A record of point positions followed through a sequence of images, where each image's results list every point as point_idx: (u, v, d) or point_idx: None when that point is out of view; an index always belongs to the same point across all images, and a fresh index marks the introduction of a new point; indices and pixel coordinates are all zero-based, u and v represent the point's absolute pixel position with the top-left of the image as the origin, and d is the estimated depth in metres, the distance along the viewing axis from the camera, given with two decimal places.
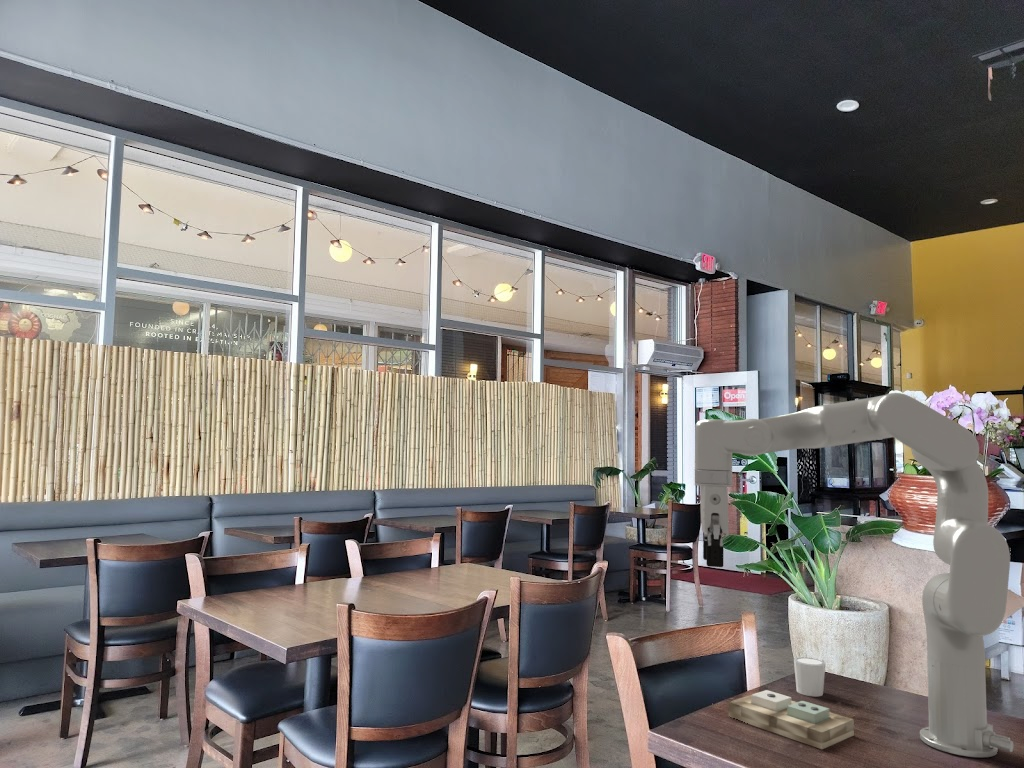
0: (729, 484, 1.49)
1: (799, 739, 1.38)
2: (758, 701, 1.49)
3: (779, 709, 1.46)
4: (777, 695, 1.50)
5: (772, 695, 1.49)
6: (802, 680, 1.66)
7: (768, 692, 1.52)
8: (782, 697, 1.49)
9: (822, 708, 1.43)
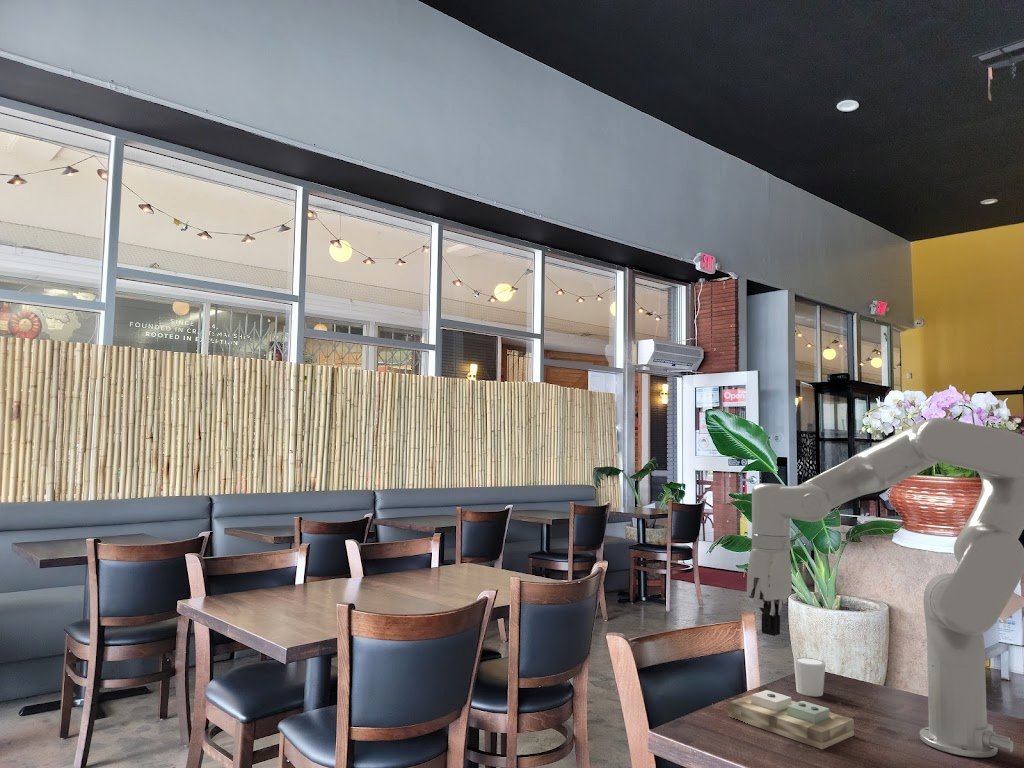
0: None
1: (799, 739, 1.38)
2: (758, 701, 1.49)
3: (779, 709, 1.46)
4: (777, 695, 1.50)
5: (772, 695, 1.49)
6: (802, 680, 1.66)
7: (768, 692, 1.52)
8: (782, 697, 1.49)
9: (822, 708, 1.43)
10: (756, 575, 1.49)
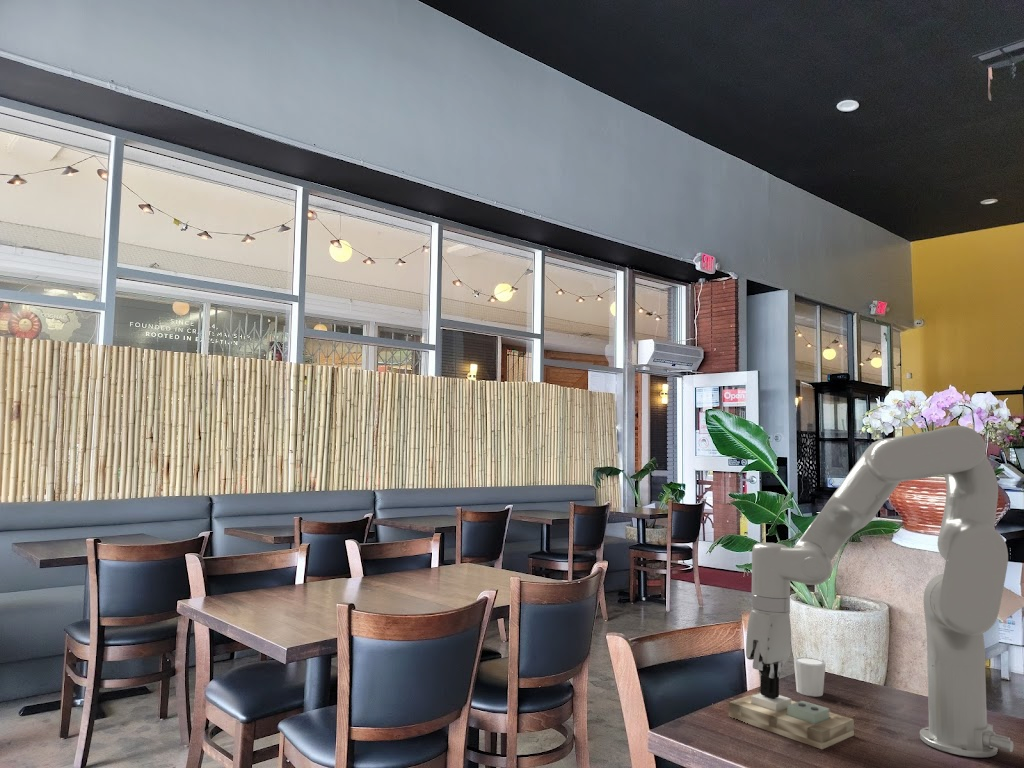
0: None
1: (799, 739, 1.38)
2: (758, 702, 1.49)
3: (779, 710, 1.46)
4: (777, 697, 1.50)
5: None
6: (802, 680, 1.66)
7: None
8: (782, 699, 1.49)
9: (822, 708, 1.43)
10: (755, 637, 1.48)
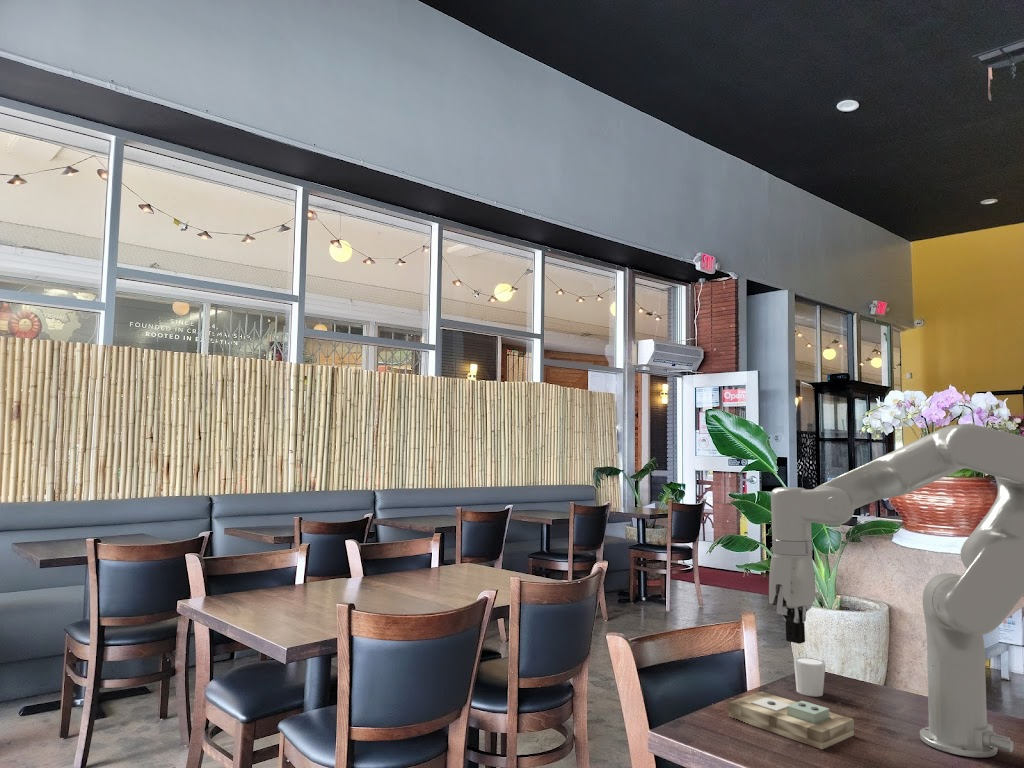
0: None
1: (799, 739, 1.38)
2: None
3: None
4: (777, 703, 1.50)
5: (772, 703, 1.49)
6: (802, 680, 1.66)
7: (768, 700, 1.52)
8: (782, 705, 1.49)
9: (822, 708, 1.43)
10: (778, 582, 1.45)
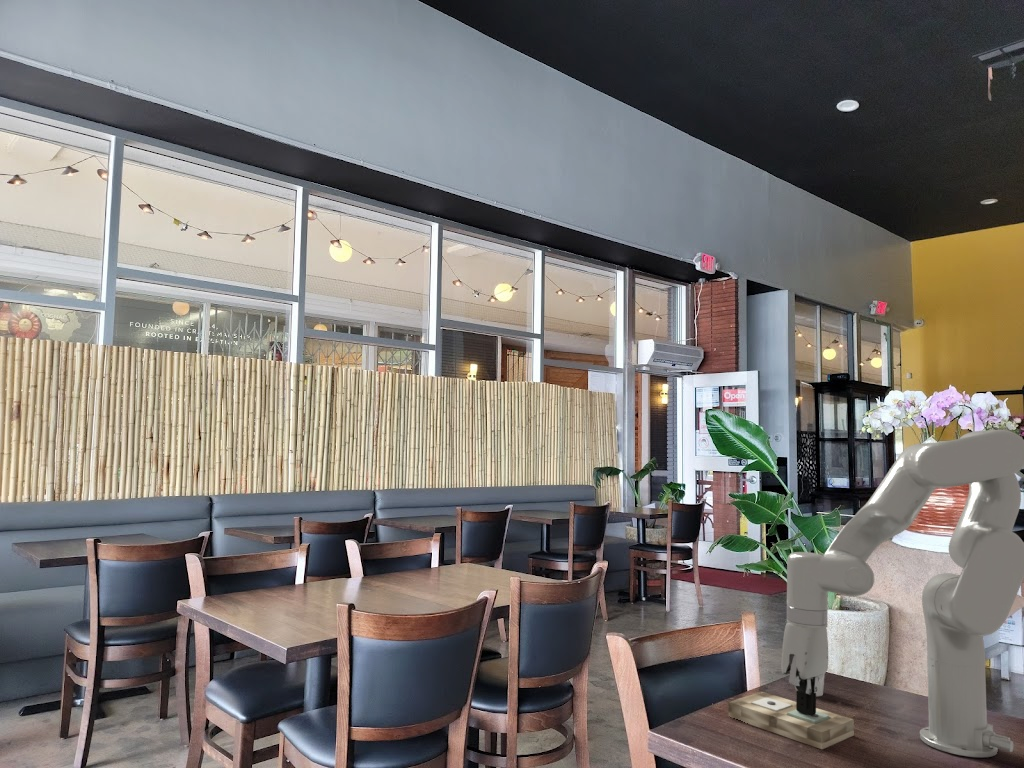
0: None
1: (799, 739, 1.38)
2: None
3: None
4: (777, 703, 1.50)
5: (772, 703, 1.49)
6: None
7: (768, 700, 1.52)
8: (782, 705, 1.49)
9: (822, 715, 1.43)
10: (792, 651, 1.41)
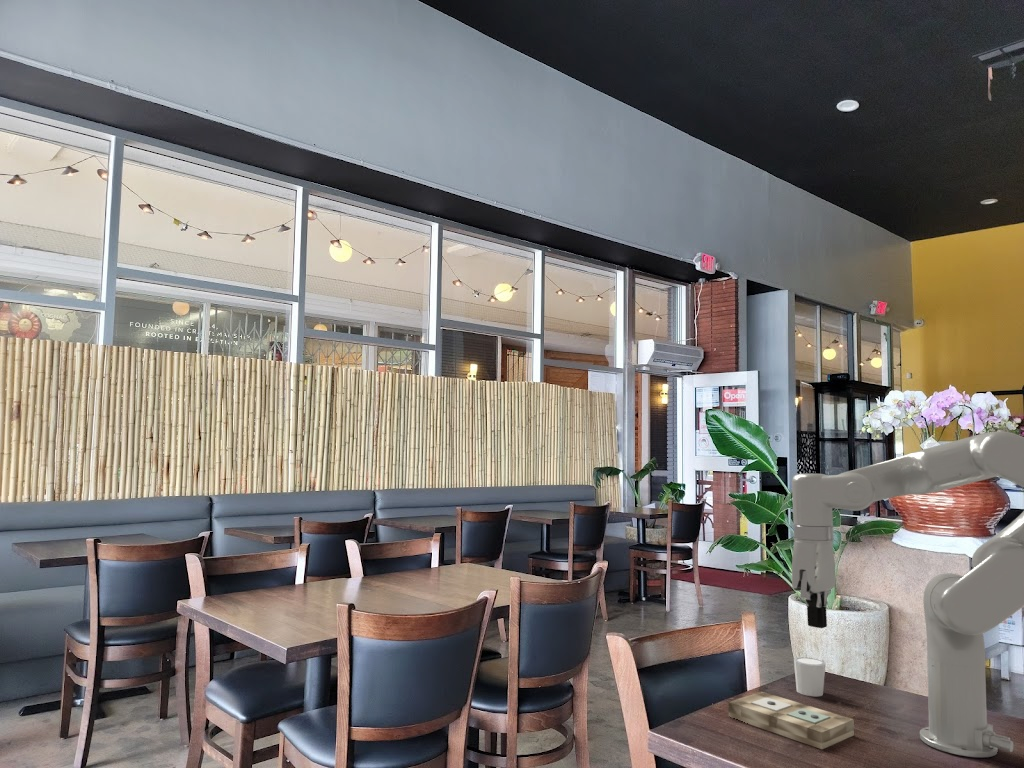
0: None
1: (799, 739, 1.38)
2: None
3: None
4: (777, 703, 1.50)
5: (772, 703, 1.49)
6: (802, 680, 1.66)
7: (768, 700, 1.52)
8: (782, 705, 1.49)
9: (822, 716, 1.43)
10: (802, 567, 1.46)
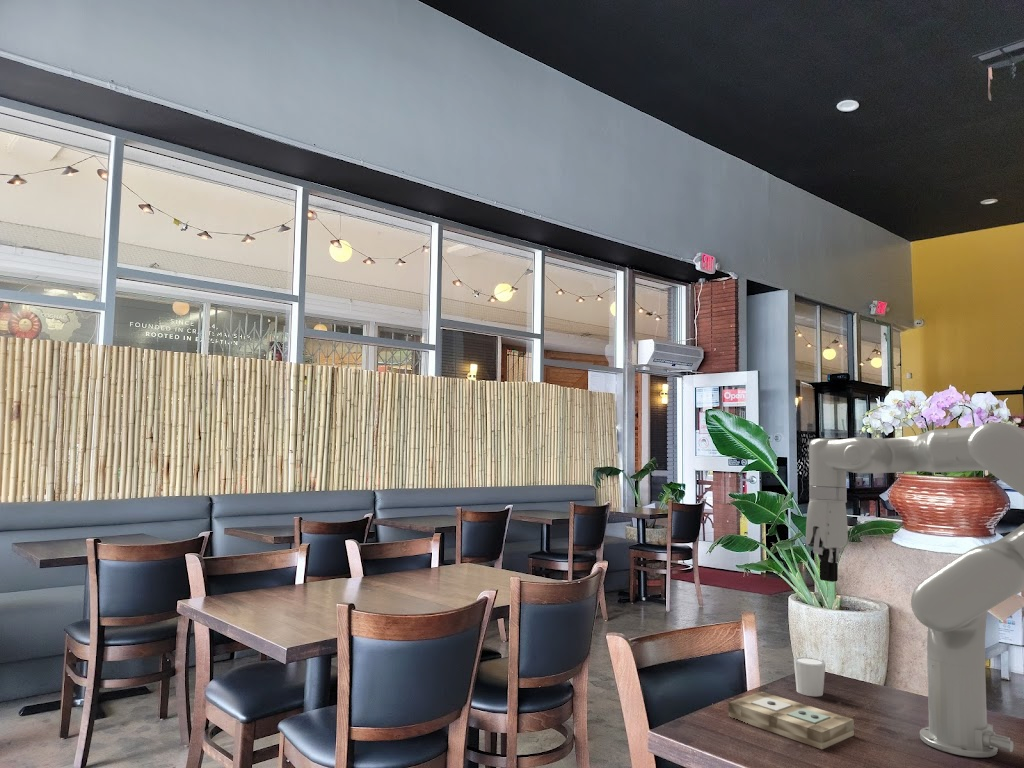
0: None
1: (799, 739, 1.38)
2: None
3: None
4: (777, 703, 1.50)
5: (772, 703, 1.49)
6: (802, 680, 1.66)
7: (768, 700, 1.52)
8: (782, 705, 1.49)
9: (822, 716, 1.43)
10: (815, 524, 1.57)
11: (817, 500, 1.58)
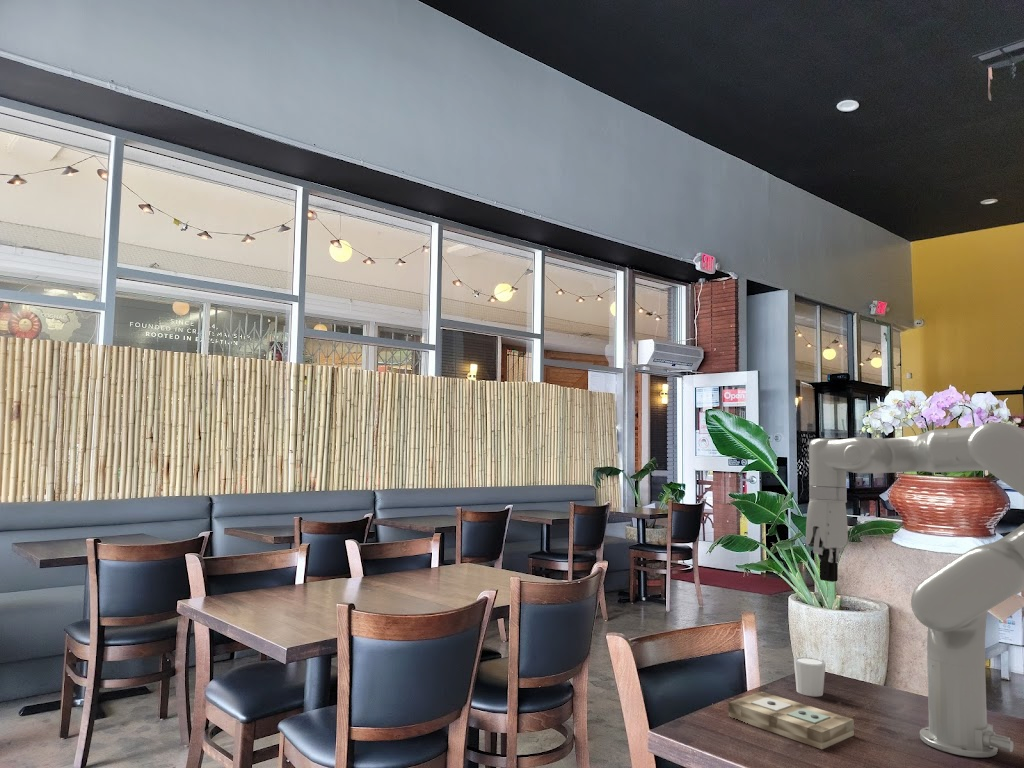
0: None
1: (799, 739, 1.38)
2: None
3: None
4: (777, 703, 1.50)
5: (772, 703, 1.49)
6: (802, 680, 1.66)
7: (768, 700, 1.52)
8: (782, 705, 1.49)
9: (822, 716, 1.43)
10: (815, 524, 1.57)
11: (817, 500, 1.58)
